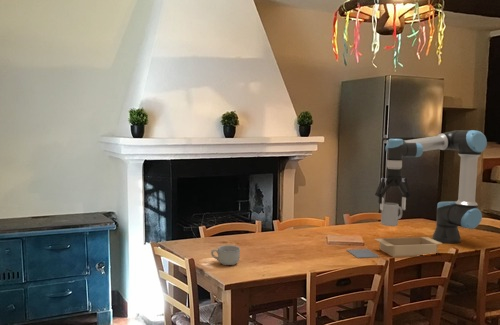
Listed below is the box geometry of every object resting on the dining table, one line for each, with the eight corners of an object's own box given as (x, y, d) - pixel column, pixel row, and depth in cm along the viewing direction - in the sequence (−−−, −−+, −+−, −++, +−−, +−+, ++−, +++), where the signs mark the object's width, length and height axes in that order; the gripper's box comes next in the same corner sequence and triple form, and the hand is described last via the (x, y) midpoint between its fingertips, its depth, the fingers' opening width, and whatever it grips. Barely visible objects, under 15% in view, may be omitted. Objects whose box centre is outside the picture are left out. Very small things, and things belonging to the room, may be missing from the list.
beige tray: (426, 247, 263) (426, 236, 262) (443, 255, 246) (443, 243, 246) (373, 249, 257) (373, 238, 257) (387, 257, 241) (387, 246, 241)
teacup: (240, 260, 234) (240, 244, 233) (240, 267, 223) (240, 250, 222) (211, 260, 233) (211, 244, 233) (210, 267, 222) (210, 250, 222)
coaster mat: (367, 249, 256) (367, 248, 256) (379, 257, 242) (379, 256, 242) (346, 250, 254) (346, 249, 254) (357, 258, 240) (357, 257, 240)
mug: (387, 226, 243) (388, 205, 242) (377, 223, 251) (378, 202, 250) (406, 225, 247) (407, 204, 247) (396, 222, 255) (397, 202, 254)
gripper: (411, 167, 253) (410, 208, 254) (369, 167, 249) (367, 208, 250) (419, 169, 245) (417, 210, 247) (375, 168, 241) (374, 211, 243)
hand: (392, 209), depth 249 cm, fingers closed on mug, 12 cm apart
